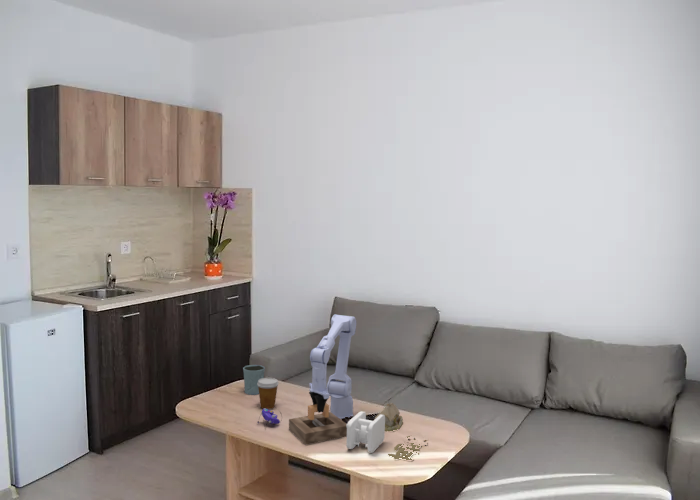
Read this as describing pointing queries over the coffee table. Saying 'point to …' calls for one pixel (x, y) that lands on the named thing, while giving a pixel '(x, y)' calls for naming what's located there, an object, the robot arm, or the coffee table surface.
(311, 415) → the tan rectangular block
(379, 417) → the cable organizer
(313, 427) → the brown piece
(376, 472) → the coffee table surface
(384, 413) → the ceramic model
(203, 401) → the coffee table surface
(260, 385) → the disposable coffee cup
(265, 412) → the game controller
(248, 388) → the teal cup
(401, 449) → the lettering
